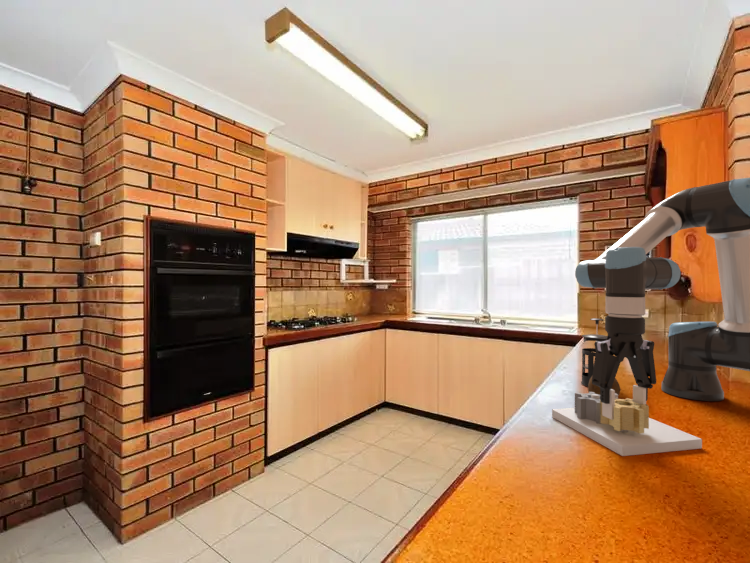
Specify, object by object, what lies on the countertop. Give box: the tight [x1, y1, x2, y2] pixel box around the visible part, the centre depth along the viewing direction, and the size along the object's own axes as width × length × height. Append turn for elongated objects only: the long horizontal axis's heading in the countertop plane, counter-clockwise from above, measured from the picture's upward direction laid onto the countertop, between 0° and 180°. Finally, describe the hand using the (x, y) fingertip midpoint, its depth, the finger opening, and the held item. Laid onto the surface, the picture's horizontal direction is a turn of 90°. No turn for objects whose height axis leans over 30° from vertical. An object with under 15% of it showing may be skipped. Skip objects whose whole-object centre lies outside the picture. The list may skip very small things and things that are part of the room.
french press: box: [580, 317, 608, 388], centre depth 128 cm, size 12×9×23 cm
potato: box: [587, 375, 622, 397], centre depth 112 cm, size 8×12×9 cm
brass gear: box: [600, 397, 650, 434], centre depth 84 cm, size 9×9×5 cm
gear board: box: [551, 391, 703, 457], centre depth 89 cm, size 20×22×8 cm
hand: (623, 416), depth 84 cm, fingers closed on brass gear, 7 cm apart
